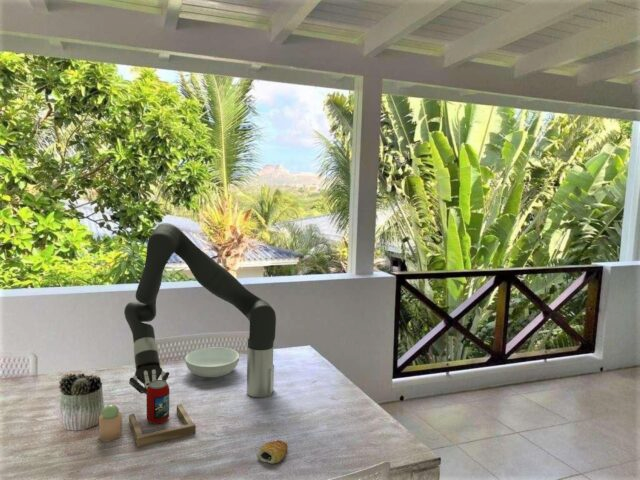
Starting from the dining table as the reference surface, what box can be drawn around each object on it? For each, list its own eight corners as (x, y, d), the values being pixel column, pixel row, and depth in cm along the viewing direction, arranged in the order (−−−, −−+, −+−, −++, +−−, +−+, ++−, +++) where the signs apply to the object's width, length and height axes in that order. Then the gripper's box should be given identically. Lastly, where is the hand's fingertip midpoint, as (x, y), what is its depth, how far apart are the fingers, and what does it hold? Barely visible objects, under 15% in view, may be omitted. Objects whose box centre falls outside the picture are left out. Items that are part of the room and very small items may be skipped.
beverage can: (161, 426, 143) (162, 389, 141) (142, 423, 144) (142, 386, 142) (173, 415, 149) (173, 380, 148) (154, 412, 151) (154, 377, 149)
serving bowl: (173, 374, 183) (173, 357, 182) (214, 359, 200) (214, 343, 199) (210, 388, 171) (210, 370, 170) (249, 371, 188) (250, 354, 187)
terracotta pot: (125, 430, 140) (125, 401, 139) (115, 441, 134) (115, 410, 133) (106, 429, 140) (105, 400, 139) (95, 440, 134) (94, 409, 133)
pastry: (273, 444, 136) (273, 431, 135) (293, 450, 133) (294, 438, 132) (255, 460, 127) (255, 447, 127) (276, 467, 124) (276, 454, 124)
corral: (128, 422, 145) (128, 414, 144) (182, 411, 153) (182, 403, 153) (137, 447, 131) (137, 438, 131) (195, 433, 140) (195, 425, 140)
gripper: (164, 356, 163) (172, 404, 154) (124, 361, 157) (129, 412, 147) (168, 346, 158) (176, 395, 149) (126, 351, 152) (132, 403, 142)
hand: (152, 404), depth 148 cm, fingers closed
